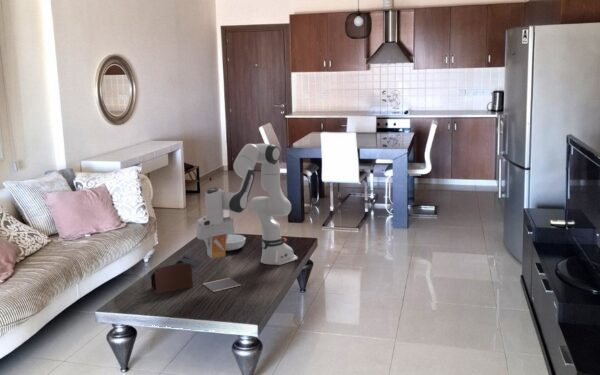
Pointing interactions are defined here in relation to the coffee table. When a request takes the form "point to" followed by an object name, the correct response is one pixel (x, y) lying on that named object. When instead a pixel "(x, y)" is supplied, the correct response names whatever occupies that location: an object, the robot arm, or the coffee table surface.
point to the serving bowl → (234, 242)
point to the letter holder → (172, 278)
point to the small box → (217, 245)
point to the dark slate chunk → (189, 261)
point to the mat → (221, 284)
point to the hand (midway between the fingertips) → (216, 244)
